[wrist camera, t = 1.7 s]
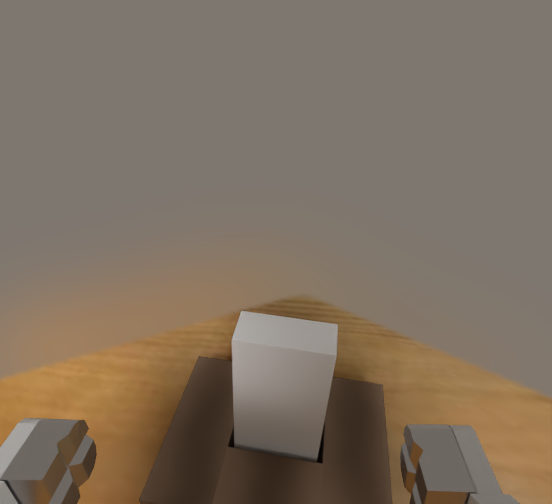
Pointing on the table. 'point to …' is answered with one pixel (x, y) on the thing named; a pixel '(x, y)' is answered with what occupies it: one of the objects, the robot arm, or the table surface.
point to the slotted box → (265, 467)
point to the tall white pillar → (281, 383)
